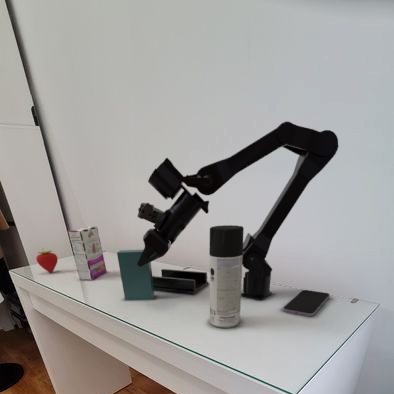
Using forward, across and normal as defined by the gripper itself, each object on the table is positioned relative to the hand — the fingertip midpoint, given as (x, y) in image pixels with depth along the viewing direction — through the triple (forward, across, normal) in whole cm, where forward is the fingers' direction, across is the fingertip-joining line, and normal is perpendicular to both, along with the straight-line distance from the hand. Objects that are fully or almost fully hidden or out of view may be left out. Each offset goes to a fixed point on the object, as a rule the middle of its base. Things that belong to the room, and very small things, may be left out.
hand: (142, 261), depth 76 cm
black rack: (+2, -10, +13) cm, 16 cm away
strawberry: (+40, -33, -24) cm, 57 cm away
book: (+9, 0, +6) cm, 10 cm away
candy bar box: (+25, -26, -10) cm, 38 cm away
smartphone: (-23, +8, +37) cm, 44 cm away
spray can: (-8, +18, +22) cm, 30 cm away
